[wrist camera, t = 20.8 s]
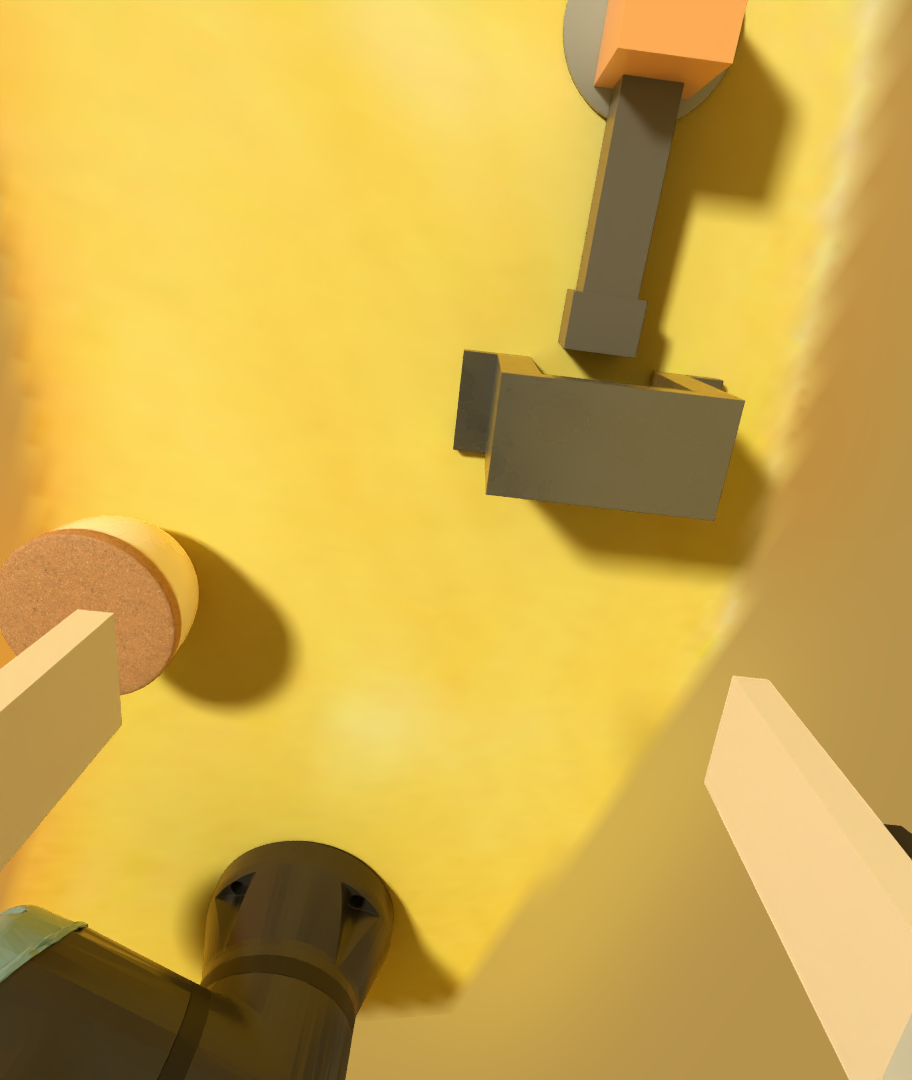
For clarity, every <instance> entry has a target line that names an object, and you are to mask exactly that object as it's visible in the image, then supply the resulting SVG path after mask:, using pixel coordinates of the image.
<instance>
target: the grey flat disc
mask: <svg viewBox="0 0 912 1080" xmlns="http://www.w3.org/2000/svg"><path fill="white" fill-rule="evenodd" d="M607 5H608V0H568V2H567V6H566V11H565V16H564V27H563V45H564V52H565V58H566V62H567V66H568V70H569V72H570V75H571V77H572V80H573V82H574V84H575V86H576V88H577V90H578V91H579V93H580V94H581V96H582V97H583V98H584V100H585V101H586V102H587V103H588V104H589V105H590V106H591V107H592V108H593V109H594V110H595V111H596V112H598V113H599V114H600V115H601V116H603V117H605V118H606V119H607V116H608V111H609V105H610V100H611V94H612V89H610V88H603V87H595V86H594V81H595V75H596V69H597V64H598V58H599V52H600V46H601V40H602V34H603V29H604V23H605V17H606V11H607ZM740 33H741V30H740ZM739 37H740V35H739ZM738 41H739V39H738ZM737 45H738V43H737ZM736 48H737V47H736ZM727 69H728V68H726V69H725V70H724V71H723V72H721V73H720V74H719V75H718V76H716V77H715V78H714V79H713V80H711V81H710V82H709V83H708V84H706V85H705V86H704V87H702V88H701V89H700V90H699V91H697V92H696V93H695V94H694V95H692V96H691V97H690V98H689V99H682V98H681V101H680V106H679V110H678V115H677V119H679V118H681V117H683V116H684V115H686V114H688V113H689V112H691V111H692V110H693V109H695V108H696V107H697V106H698V105H700V104H701V103H702V102H703V101H704V100H705V99H706V98H707V97H708V96H709V95H710V94H711V93H712V91H713V90H714V89H715V88H716V87H717V85H718V84H719V82H720V81H721V79H722V78H723V76H724V75H725V73H726V71H727Z"/></svg>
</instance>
